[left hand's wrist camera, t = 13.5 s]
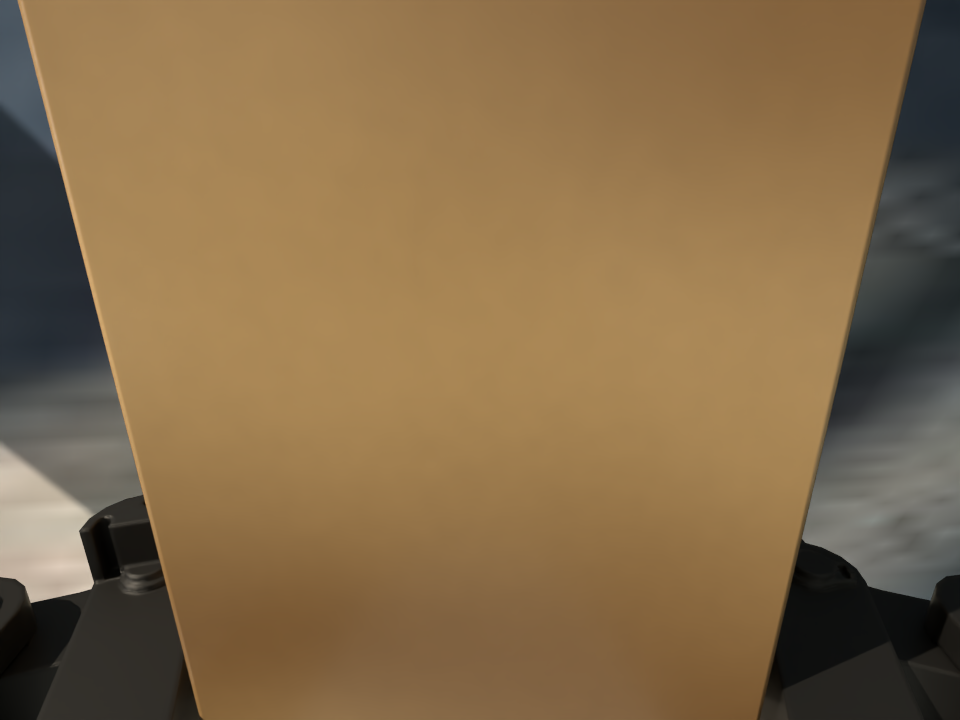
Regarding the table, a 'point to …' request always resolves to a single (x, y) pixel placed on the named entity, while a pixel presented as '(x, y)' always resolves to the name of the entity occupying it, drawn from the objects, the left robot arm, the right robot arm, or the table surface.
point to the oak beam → (475, 331)
